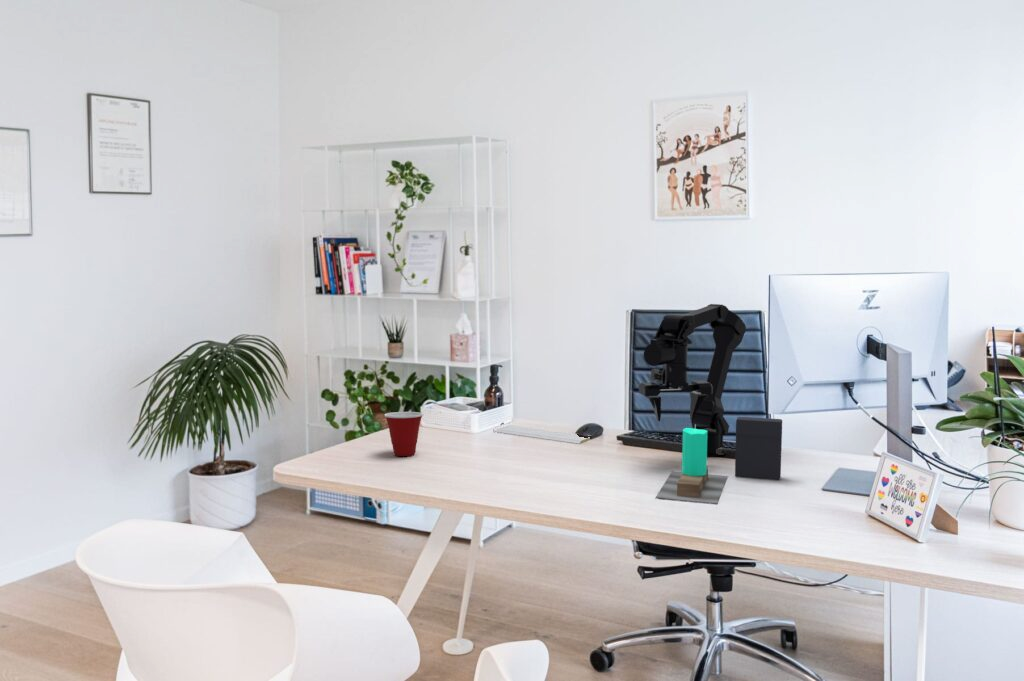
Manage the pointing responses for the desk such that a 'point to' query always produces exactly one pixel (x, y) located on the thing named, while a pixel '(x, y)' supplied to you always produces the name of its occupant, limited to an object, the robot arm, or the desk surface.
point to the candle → (694, 452)
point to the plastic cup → (404, 431)
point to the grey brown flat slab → (693, 487)
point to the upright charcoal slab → (758, 448)
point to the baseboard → (542, 434)
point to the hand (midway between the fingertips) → (675, 420)
